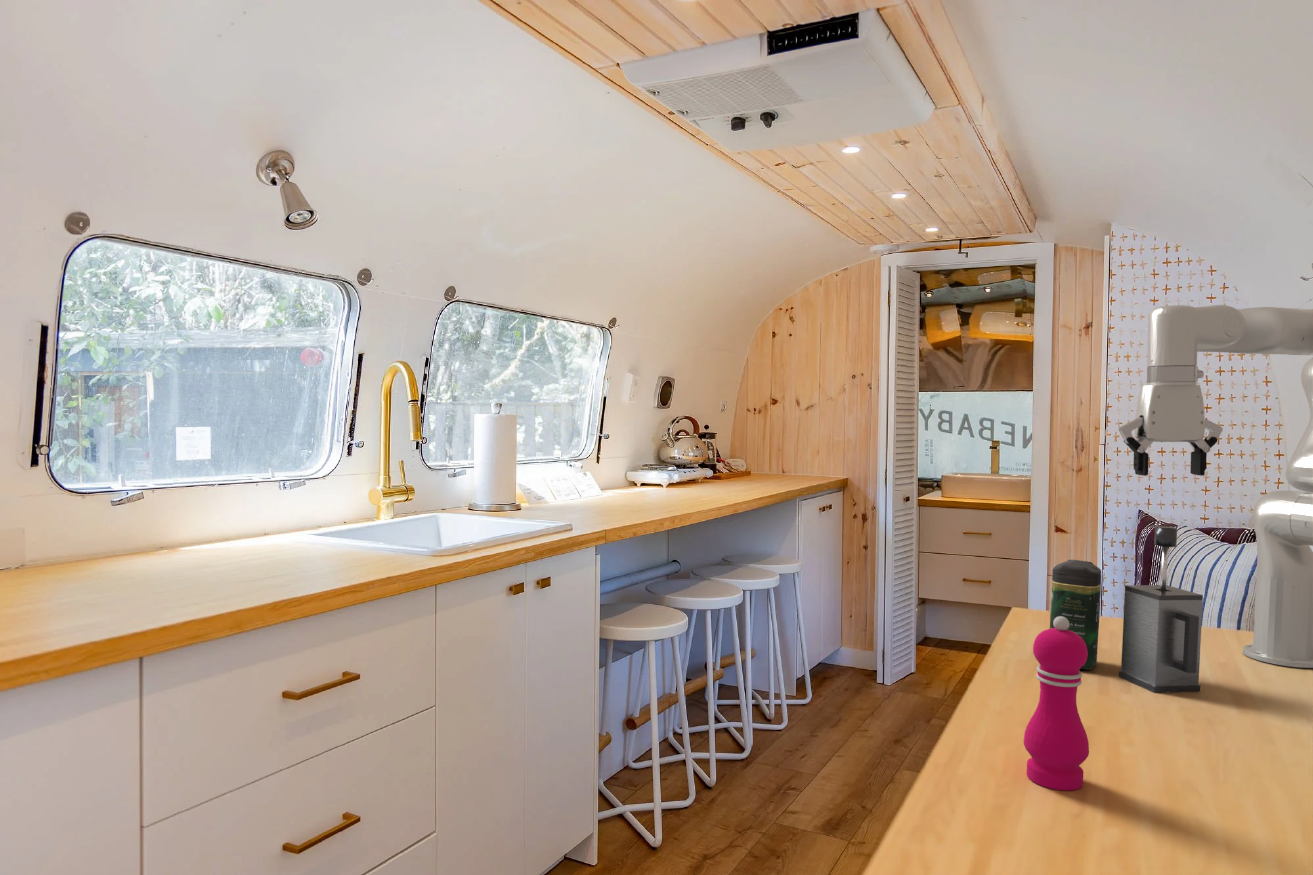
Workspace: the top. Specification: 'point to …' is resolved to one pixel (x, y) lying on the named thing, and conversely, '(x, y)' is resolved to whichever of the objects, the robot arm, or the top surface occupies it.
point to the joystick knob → (1165, 548)
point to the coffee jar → (1078, 602)
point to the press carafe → (1161, 638)
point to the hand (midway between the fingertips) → (1169, 474)
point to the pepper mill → (1057, 711)
